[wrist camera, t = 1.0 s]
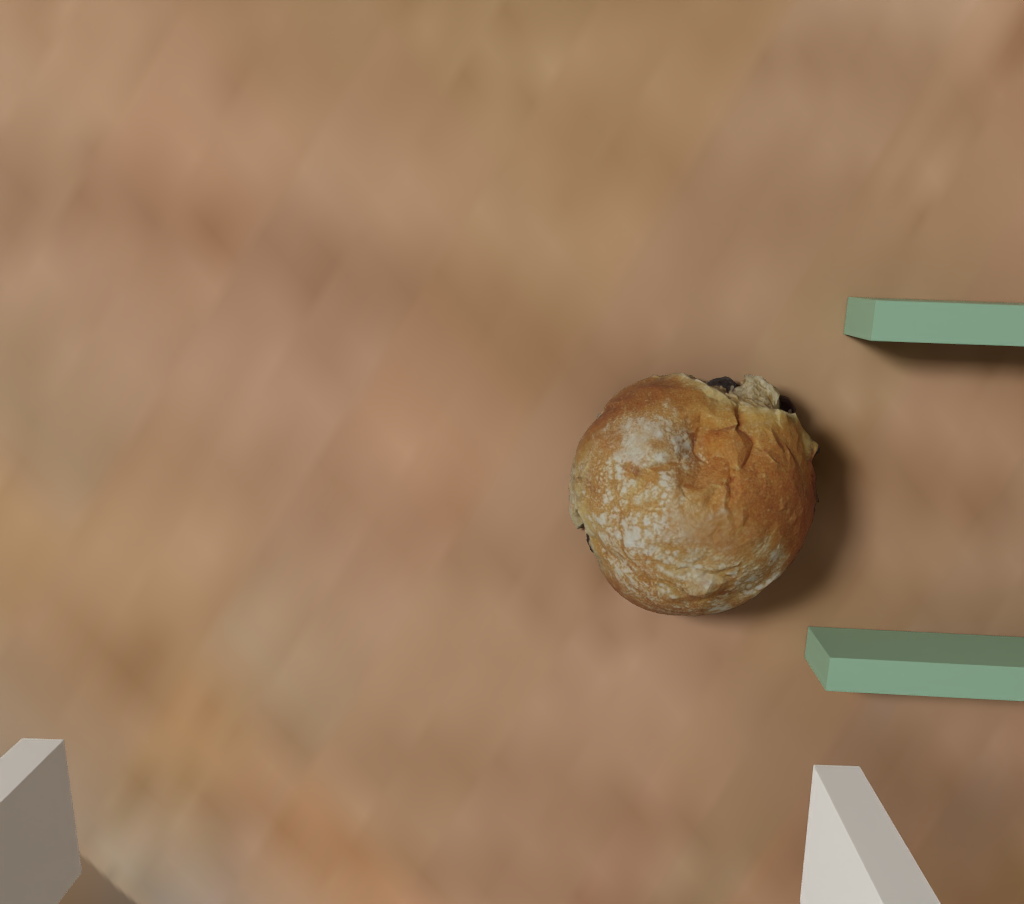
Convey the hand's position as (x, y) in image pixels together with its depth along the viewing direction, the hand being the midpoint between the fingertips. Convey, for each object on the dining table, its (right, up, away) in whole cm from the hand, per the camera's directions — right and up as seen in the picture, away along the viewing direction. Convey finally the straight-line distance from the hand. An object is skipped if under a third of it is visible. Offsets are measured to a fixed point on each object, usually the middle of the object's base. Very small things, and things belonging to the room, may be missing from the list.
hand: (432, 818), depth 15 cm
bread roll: (+9, +5, +22) cm, 24 cm away
